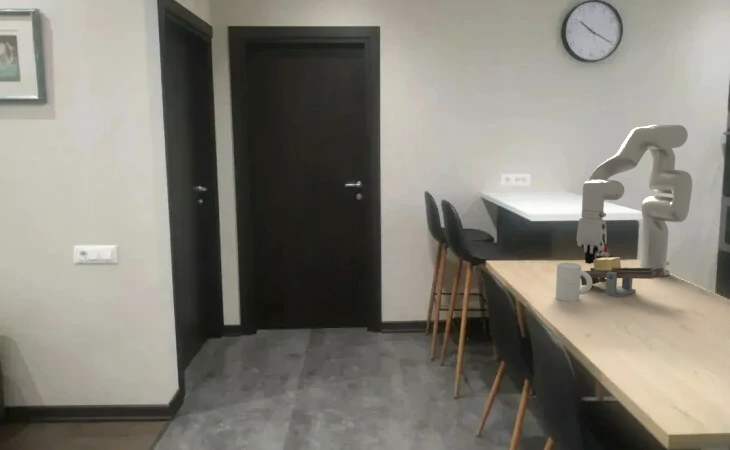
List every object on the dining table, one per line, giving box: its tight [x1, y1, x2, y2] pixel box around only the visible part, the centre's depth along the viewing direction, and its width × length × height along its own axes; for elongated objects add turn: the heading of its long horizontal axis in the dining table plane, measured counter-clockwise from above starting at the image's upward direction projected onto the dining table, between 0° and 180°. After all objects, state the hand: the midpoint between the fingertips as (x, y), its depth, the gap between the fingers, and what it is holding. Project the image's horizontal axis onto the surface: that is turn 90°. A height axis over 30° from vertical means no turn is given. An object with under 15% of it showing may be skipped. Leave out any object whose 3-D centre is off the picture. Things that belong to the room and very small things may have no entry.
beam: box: [580, 267, 664, 286], centre depth 223 cm, size 8×28×6 cm, turn 38°
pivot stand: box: [601, 266, 637, 299], centre depth 224 cm, size 12×6×8 cm, turn 128°
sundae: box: [595, 243, 614, 283], centre depth 242 cm, size 7×7×15 cm
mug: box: [555, 262, 593, 302], centre depth 217 cm, size 8×12×12 cm
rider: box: [593, 256, 622, 271], centre depth 227 cm, size 6×7×5 cm
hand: (589, 262), depth 233 cm, fingers closed
